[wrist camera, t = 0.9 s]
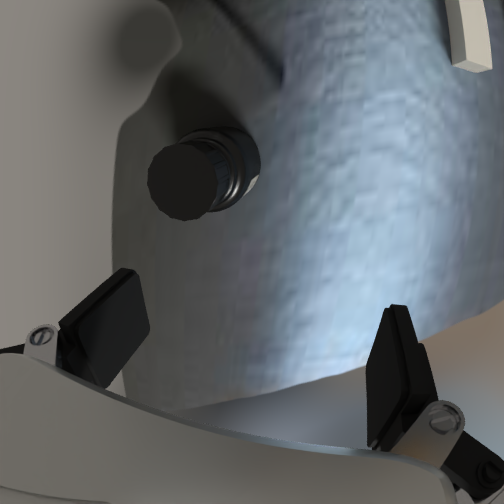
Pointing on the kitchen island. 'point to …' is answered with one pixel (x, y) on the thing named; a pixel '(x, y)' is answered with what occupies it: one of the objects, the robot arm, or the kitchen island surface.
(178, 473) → the robot arm
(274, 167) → the kitchen island surface
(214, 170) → the ink bottle
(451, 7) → the strip
